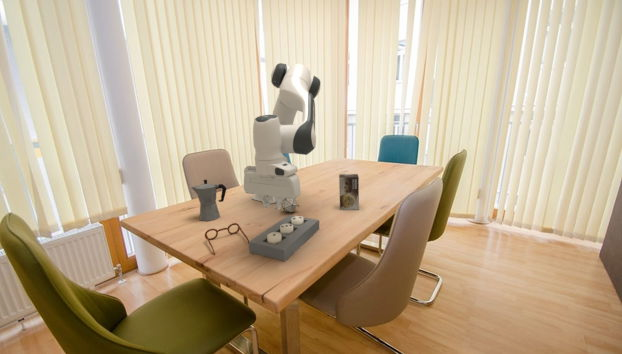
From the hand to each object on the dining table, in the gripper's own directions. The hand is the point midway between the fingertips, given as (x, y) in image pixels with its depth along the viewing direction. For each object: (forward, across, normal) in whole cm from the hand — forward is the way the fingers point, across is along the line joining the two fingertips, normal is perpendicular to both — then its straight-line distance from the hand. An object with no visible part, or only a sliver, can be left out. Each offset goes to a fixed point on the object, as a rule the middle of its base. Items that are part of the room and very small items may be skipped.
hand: (272, 208), depth 89 cm
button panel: (+15, 0, +8) cm, 17 cm away
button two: (+13, 0, +16) cm, 21 cm away
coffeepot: (+15, -44, +14) cm, 49 cm away
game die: (+15, -14, +33) cm, 39 cm away
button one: (+13, 0, 0) cm, 13 cm away
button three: (+13, 0, +8) cm, 15 cm away
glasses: (+16, -19, -2) cm, 25 cm away
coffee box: (+15, +10, +49) cm, 52 cm away
